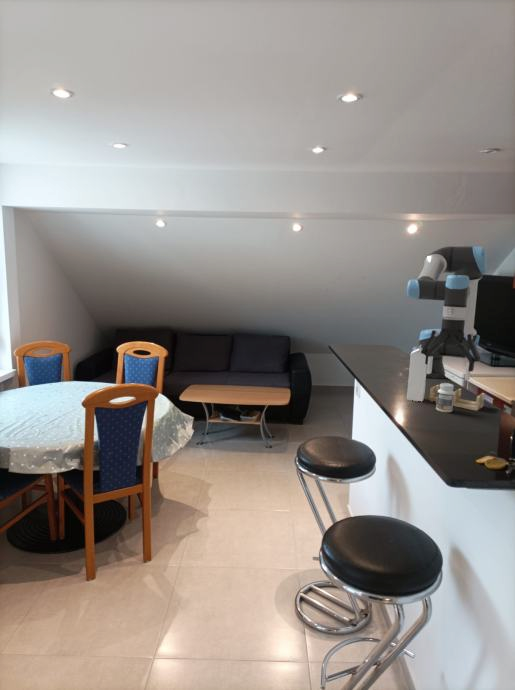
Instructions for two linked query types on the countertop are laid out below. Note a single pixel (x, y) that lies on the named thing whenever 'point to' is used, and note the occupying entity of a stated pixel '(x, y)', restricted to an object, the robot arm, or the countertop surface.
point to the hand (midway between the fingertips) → (447, 376)
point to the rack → (457, 400)
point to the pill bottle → (445, 397)
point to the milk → (417, 376)
